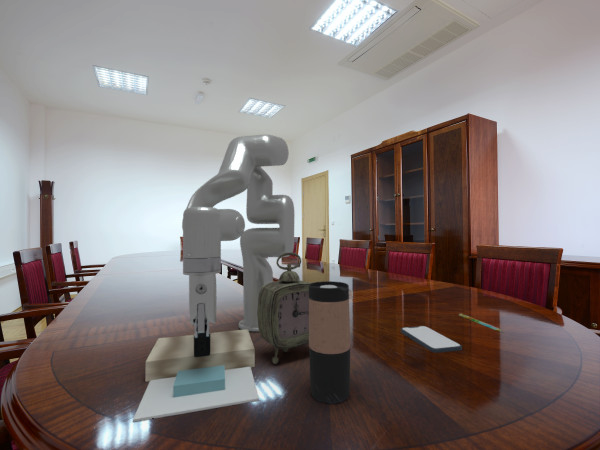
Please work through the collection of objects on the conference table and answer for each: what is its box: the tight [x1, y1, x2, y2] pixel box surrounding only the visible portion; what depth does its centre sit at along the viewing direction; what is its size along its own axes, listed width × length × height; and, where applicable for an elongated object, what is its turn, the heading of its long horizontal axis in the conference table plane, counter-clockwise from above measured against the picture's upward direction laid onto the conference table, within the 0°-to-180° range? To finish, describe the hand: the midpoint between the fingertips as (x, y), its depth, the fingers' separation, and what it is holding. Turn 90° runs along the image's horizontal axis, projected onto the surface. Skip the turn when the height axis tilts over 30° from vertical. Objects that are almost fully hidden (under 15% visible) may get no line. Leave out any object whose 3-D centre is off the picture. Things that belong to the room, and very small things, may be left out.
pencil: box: [458, 313, 504, 333], centre depth 94 cm, size 1×1×18 cm
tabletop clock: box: [257, 252, 312, 365], centre depth 72 cm, size 14×9×25 cm, turn 122°
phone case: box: [400, 325, 463, 354], centre depth 80 cm, size 9×2×16 cm
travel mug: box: [308, 280, 351, 405], centre depth 54 cm, size 8×8×20 cm
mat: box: [132, 367, 260, 423], centre depth 55 cm, size 20×13×1 cm, turn 106°
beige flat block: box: [145, 329, 256, 383], centre depth 69 cm, size 22×14×4 cm, turn 106°
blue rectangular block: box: [173, 365, 225, 397], centre depth 56 cm, size 9×6×2 cm, turn 106°
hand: (202, 354), depth 60 cm, fingers closed
